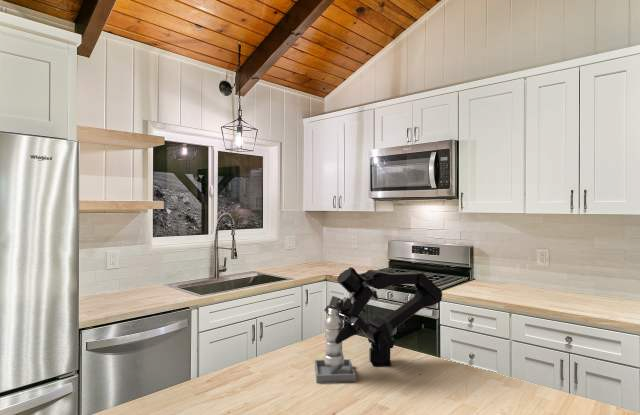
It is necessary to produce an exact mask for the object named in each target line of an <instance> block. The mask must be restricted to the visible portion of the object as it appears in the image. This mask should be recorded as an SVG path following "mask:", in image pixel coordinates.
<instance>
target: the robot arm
mask: <svg viewBox="0 0 640 415" xmlns="http://www.w3.org/2000/svg"><path fill="white" fill-rule="evenodd" d="M336 280H337V283H338V284H340V285H341V287H342V288H343V289H344V290H346V291H347V293H350V294H351V296H350V297H346V296H345V297H343V298H339V297H337V296H335V295H332V296H331V299H330V302H329V304H328V305H326V307H325V308H324V309H323V311H324V312H325V313H326V314H327V317H328V316H329V314H328V308H329V307H331V306H334V307H336V308H339V311H340V314H339V316H340V317H341V319H342V320H343V323H344V326H343V329H342V331H341V332H340V334H339V336H338V337H337V339H336V341H335V343H336V344H339V343H341V342H342V343H343V342H344V341H346V340H347V339H349V338H351V337H354V336H355V335H360V333H362V334H364V336H365V338H366V339H367V341H368V342H369V343H370V348H369V349H368V350H369V351H368V358H369V359H368V360H369V362H370V363H371V365H372V366H373V367H392V366H393V364H392V362H391V349H393V348H394V345H395V340H393V339H392V338H391V336H392V334H393V332H394V330H395V329H397V328H398V327H400V326H401V325H402V324H403V323H404V322H405V321H407V320H409V319H410V318H411V317H412V316H414V315H415V314H417V313H418V312H420V310H423V309H424V308H427V307H431V306H432V307H433V306H434V305H436V304H439V303H440V302H442V300H443V298H442V297H443V292H442V289H441V288H440V287H437V285H436V284H435V283H434V282H433V281H432V280H430V279H429V278H428V277H427V275H426V274H425V273H423V272H419V271H409V272H407V271H406V272H404V271H403V272H387V271H386V272H384V271H380V270H376V269H375V270H374V269H368V270H367V271H366V272H365V273H361V274H359V273H358V272H357V270H356V269H355V268H354V267H352V266H350V267H348V269H345V270H343V271H342V272H340V273H339V275H338V276H337V279H336ZM393 285H394V286H395V285H397V286H398V285H414V287H415V288H414V289H416V291H415V294H414V296H413V297H412V298H410V299H409V300H408V301H406V302H405V303H403V305H401V306H400V307H398V308H396V309H395V310H394V311H392V312H391V313H390V314H388V315H387V316H385V317H384V318H382V317H379V316H377V315H376V316H375V317H373V319H371V320H369V321H367V322H366V321H365V319H363V317H361V316H360V315H361V313H363V314H365V312H366V309H365V307H366V306H367V305H368V303H369V302H370V300H372V299H375V300H378V299H379V297H378V293H377V292H378V291H377V290H382V289H386V288H389V287H390V286H393ZM371 288H374V289H376V290H374V289H371ZM324 337H325V338H326V335H325V334H324Z"/></svg>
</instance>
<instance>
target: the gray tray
mask: <svg viewBox="0 0 640 415" xmlns="http://www.w3.org/2000/svg"><path fill="white" fill-rule="evenodd" d="M354 369H355V368H354V366H353V363H352V361H351V359H349V358H347V359H345V358H344V365H343V367H342V368H341V369H339V370H329V369H327V368H326V366H325V363H324V359H314V372H315V381H316V384H326V383H327V384H328V383H330V384H331V383H332V384H333V383H356V379H357V377H356V375H357V374H356V372H355V370H354Z"/></svg>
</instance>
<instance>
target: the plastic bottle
mask: <svg viewBox="0 0 640 415" xmlns="http://www.w3.org/2000/svg"><path fill="white" fill-rule="evenodd" d="M340 312H341V311H339V308H336V307H334V306H333V305H332V306H331V307H329V308H328V314H329V316H328V314H327V316H326V318H325V320H324V322H323V328H324V336H325V335H326V337H325V353H324V358H323V360H324V363H325V366H326V368H327V369H329V370H339V369H341V368H342V367H343V365H344V359H345V357H344V356H345V355H344V351H343V341H342V342H341V343H339V344H336V343H335V341H336V339H337V337H338V336H339V334H340V332H341V331H342V329H343V327H344V320H342V319H341V317H340V316H339V314H340Z"/></svg>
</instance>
